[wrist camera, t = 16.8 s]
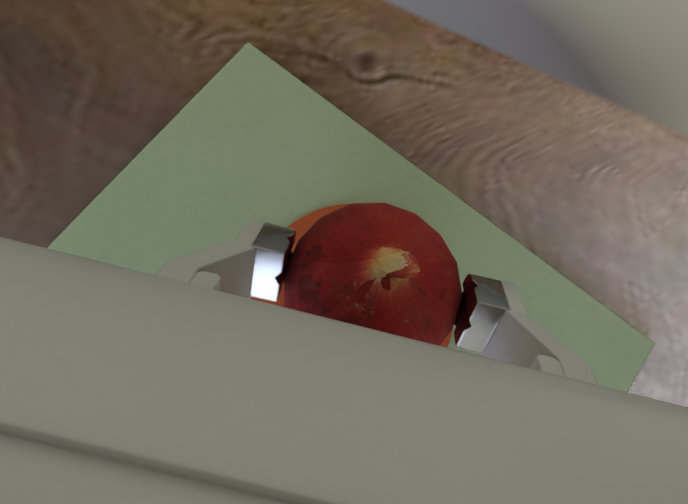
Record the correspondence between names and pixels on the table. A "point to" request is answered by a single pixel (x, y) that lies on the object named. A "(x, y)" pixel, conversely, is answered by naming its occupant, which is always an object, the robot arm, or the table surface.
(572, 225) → the table surface
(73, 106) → the table surface
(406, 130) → the table surface
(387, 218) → the onion
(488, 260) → the desk pad
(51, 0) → the table surface
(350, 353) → the robot arm
